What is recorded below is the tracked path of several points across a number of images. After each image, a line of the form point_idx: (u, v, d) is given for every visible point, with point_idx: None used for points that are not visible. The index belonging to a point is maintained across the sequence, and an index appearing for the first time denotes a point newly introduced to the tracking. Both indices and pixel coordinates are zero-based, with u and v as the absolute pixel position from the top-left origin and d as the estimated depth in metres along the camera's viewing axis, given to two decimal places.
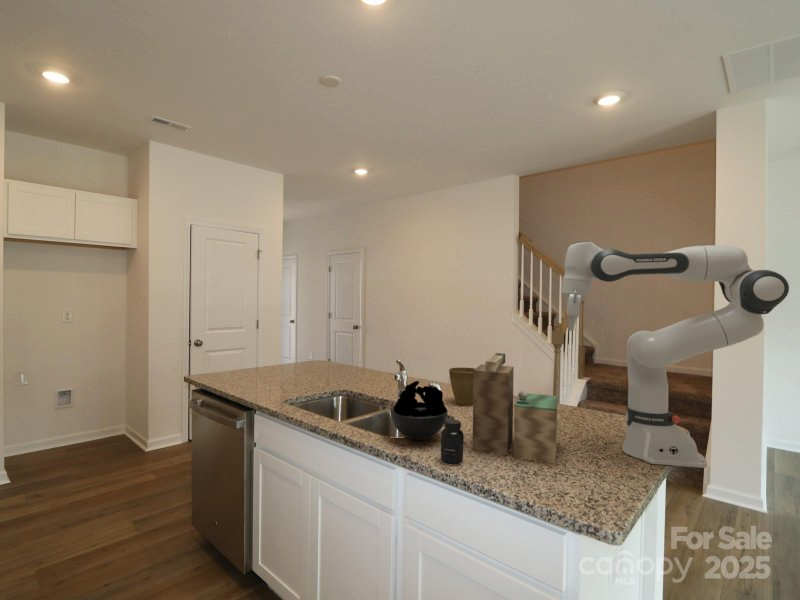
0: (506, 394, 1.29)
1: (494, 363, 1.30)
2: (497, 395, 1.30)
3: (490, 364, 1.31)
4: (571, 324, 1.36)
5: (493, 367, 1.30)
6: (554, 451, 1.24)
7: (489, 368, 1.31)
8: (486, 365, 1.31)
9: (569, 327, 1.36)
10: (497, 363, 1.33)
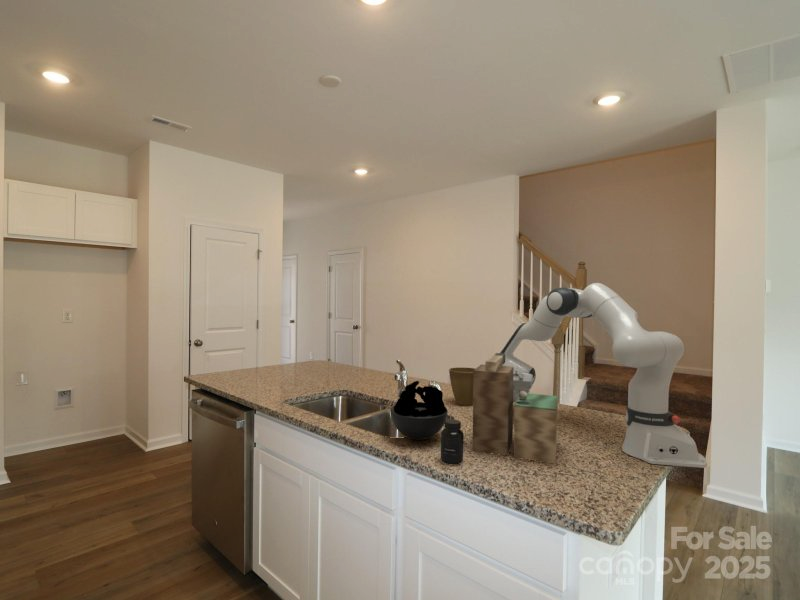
0: (506, 394, 1.29)
1: (494, 363, 1.30)
2: (497, 395, 1.30)
3: (490, 364, 1.31)
4: None
5: (493, 367, 1.30)
6: (554, 451, 1.24)
7: (489, 368, 1.31)
8: (486, 365, 1.31)
9: None
10: (497, 363, 1.33)
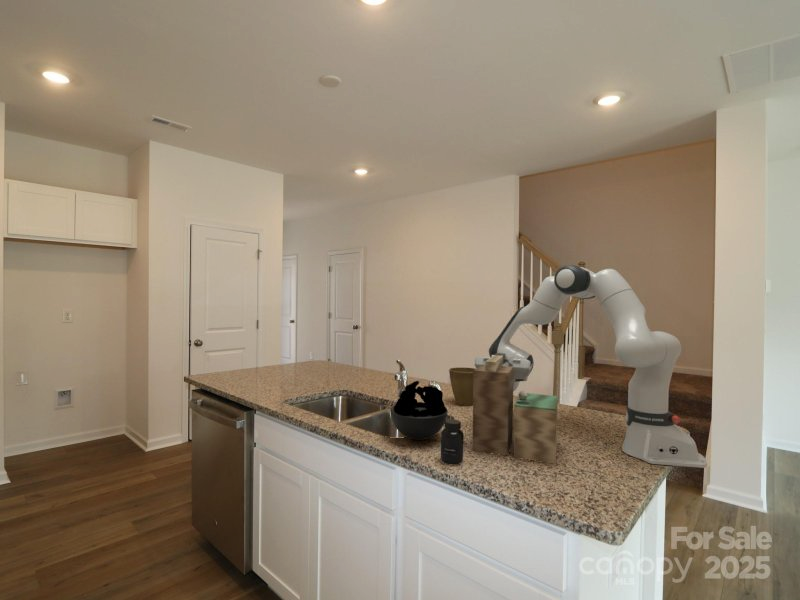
0: (506, 394, 1.29)
1: (494, 363, 1.30)
2: (497, 395, 1.30)
3: (490, 364, 1.31)
4: None
5: (493, 367, 1.30)
6: (554, 451, 1.24)
7: (489, 368, 1.31)
8: (486, 365, 1.31)
9: None
10: (497, 363, 1.33)
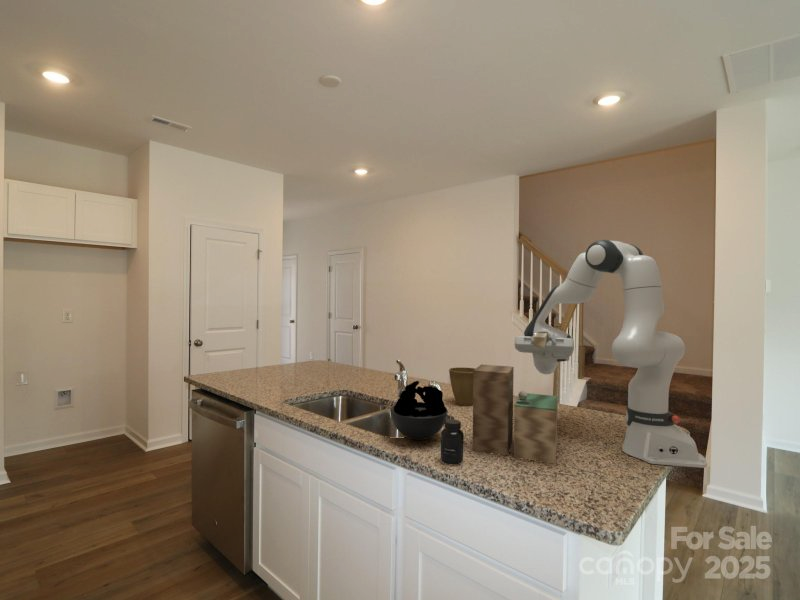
0: (506, 394, 1.29)
1: (543, 338, 1.25)
2: (497, 395, 1.30)
3: (539, 339, 1.26)
4: (533, 337, 1.47)
5: (542, 342, 1.25)
6: (554, 451, 1.24)
7: (538, 344, 1.26)
8: (534, 341, 1.26)
9: (533, 337, 1.46)
10: (545, 339, 1.29)
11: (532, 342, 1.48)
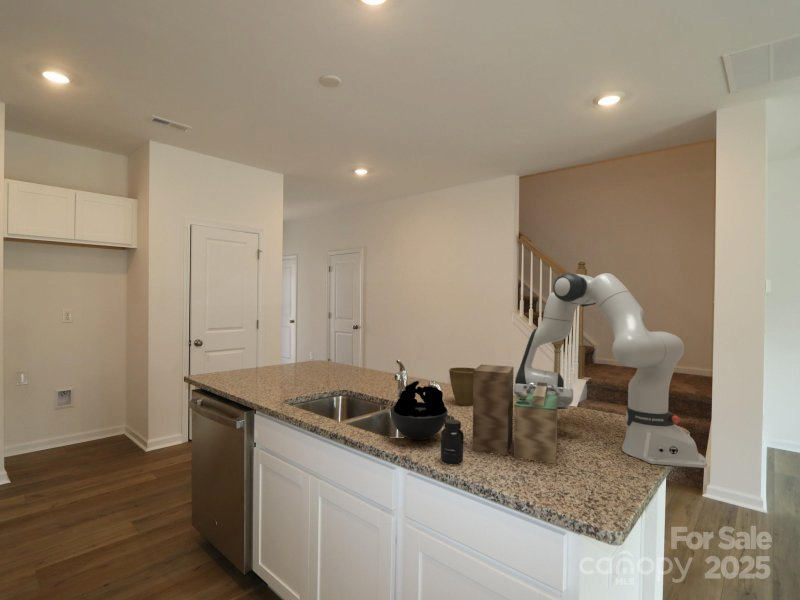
0: (506, 394, 1.29)
1: (542, 398, 1.26)
2: (497, 395, 1.30)
3: (538, 398, 1.26)
4: (528, 386, 1.47)
5: (541, 402, 1.26)
6: (554, 451, 1.24)
7: (537, 403, 1.26)
8: (534, 399, 1.26)
9: (529, 387, 1.46)
10: (544, 397, 1.29)
11: (527, 391, 1.48)
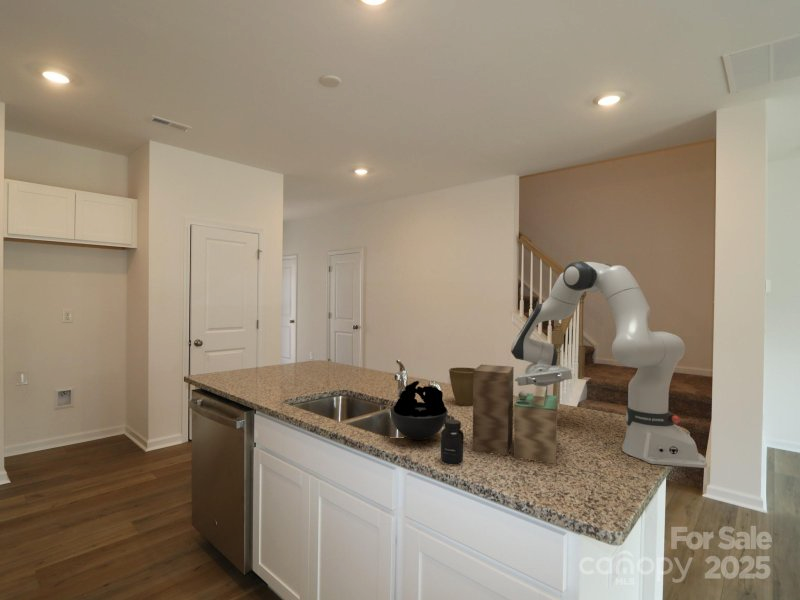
0: (506, 394, 1.29)
1: (542, 398, 1.26)
2: (497, 395, 1.30)
3: (538, 398, 1.26)
4: (530, 380, 1.55)
5: (541, 402, 1.26)
6: (554, 451, 1.24)
7: (537, 403, 1.26)
8: (534, 399, 1.26)
9: (531, 382, 1.54)
10: (544, 397, 1.29)
11: (529, 382, 1.57)
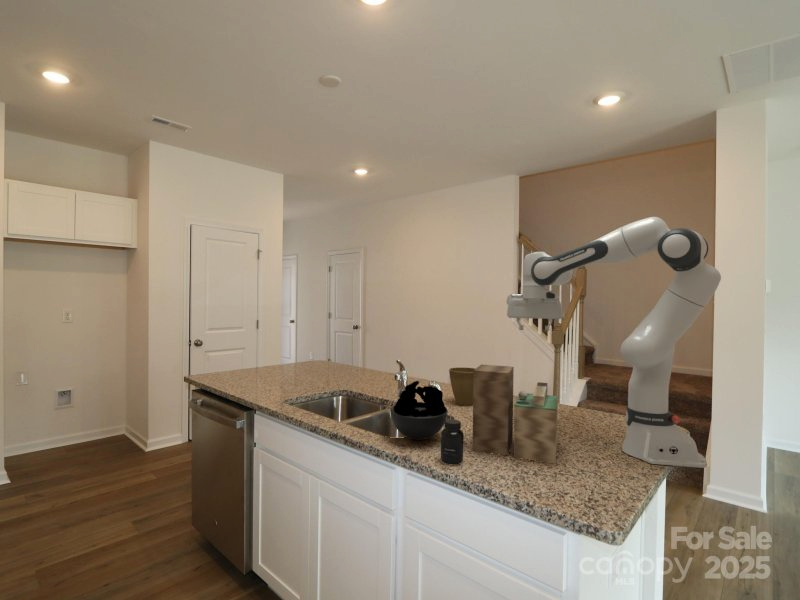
0: (506, 394, 1.29)
1: (542, 398, 1.26)
2: (497, 395, 1.30)
3: (538, 398, 1.26)
4: None
5: (541, 402, 1.26)
6: (554, 451, 1.24)
7: (537, 403, 1.26)
8: (534, 399, 1.26)
9: None
10: (544, 397, 1.29)
11: None
